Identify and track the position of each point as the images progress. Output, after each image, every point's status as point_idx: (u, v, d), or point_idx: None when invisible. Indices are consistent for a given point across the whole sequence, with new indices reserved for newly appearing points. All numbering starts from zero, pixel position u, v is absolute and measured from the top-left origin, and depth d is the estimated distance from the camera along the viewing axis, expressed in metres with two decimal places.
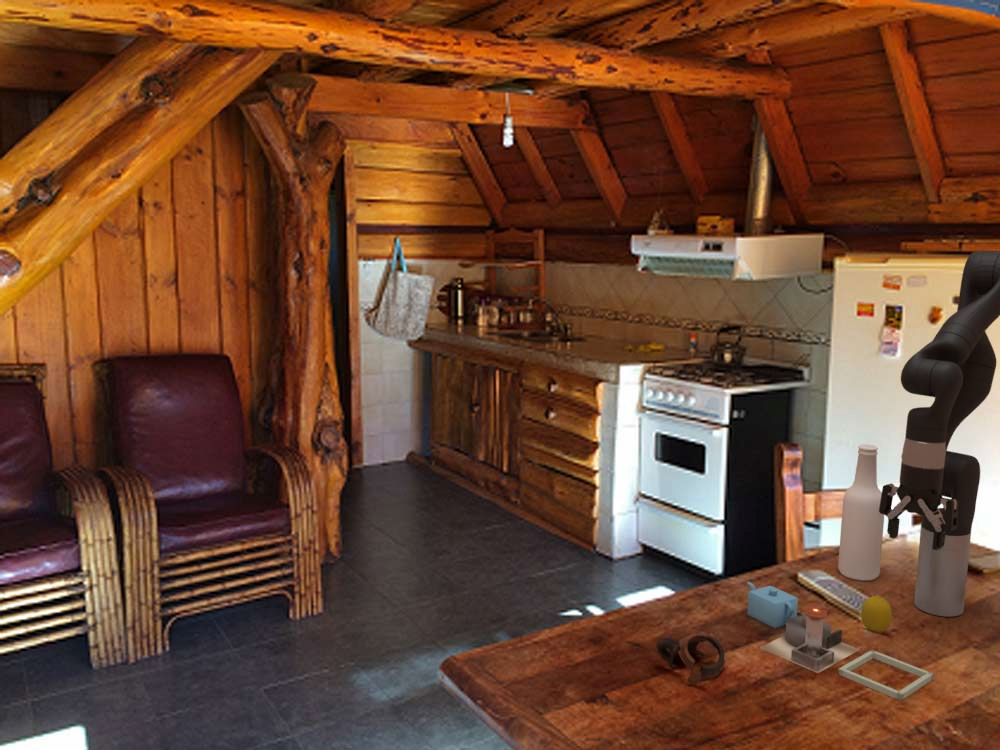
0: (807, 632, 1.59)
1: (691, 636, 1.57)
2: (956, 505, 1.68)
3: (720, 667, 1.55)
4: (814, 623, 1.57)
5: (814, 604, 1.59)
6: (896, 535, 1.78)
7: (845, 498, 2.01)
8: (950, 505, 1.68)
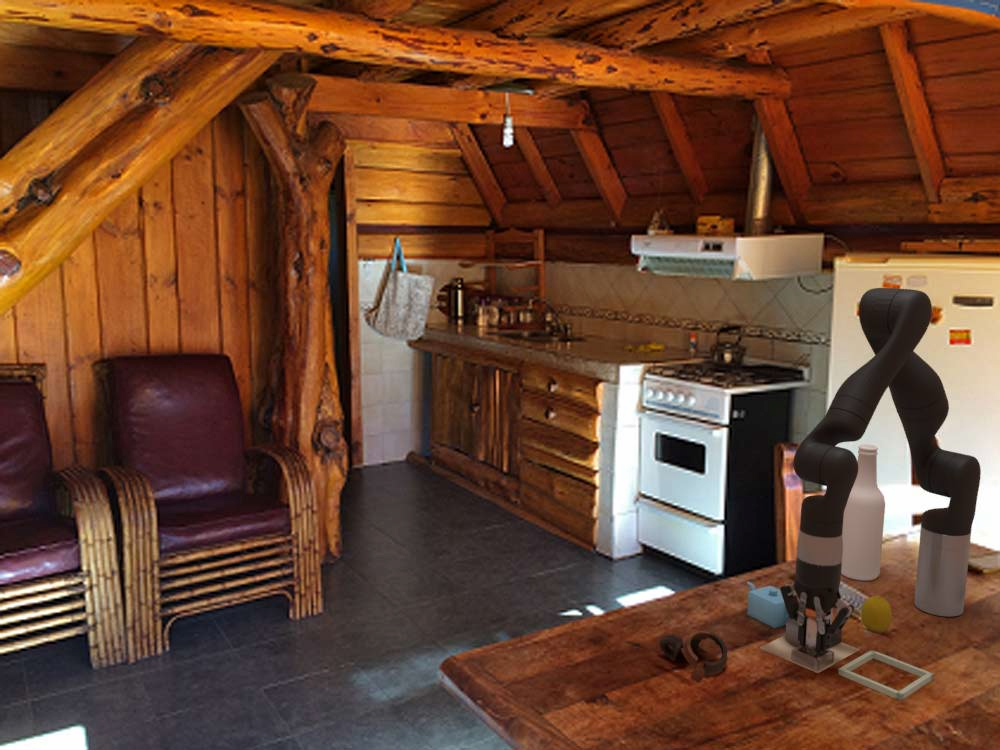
0: (807, 632, 1.59)
1: (694, 633, 1.58)
2: (850, 613, 1.54)
3: (723, 664, 1.56)
4: (814, 623, 1.57)
5: None
6: None
7: None
8: (843, 614, 1.53)
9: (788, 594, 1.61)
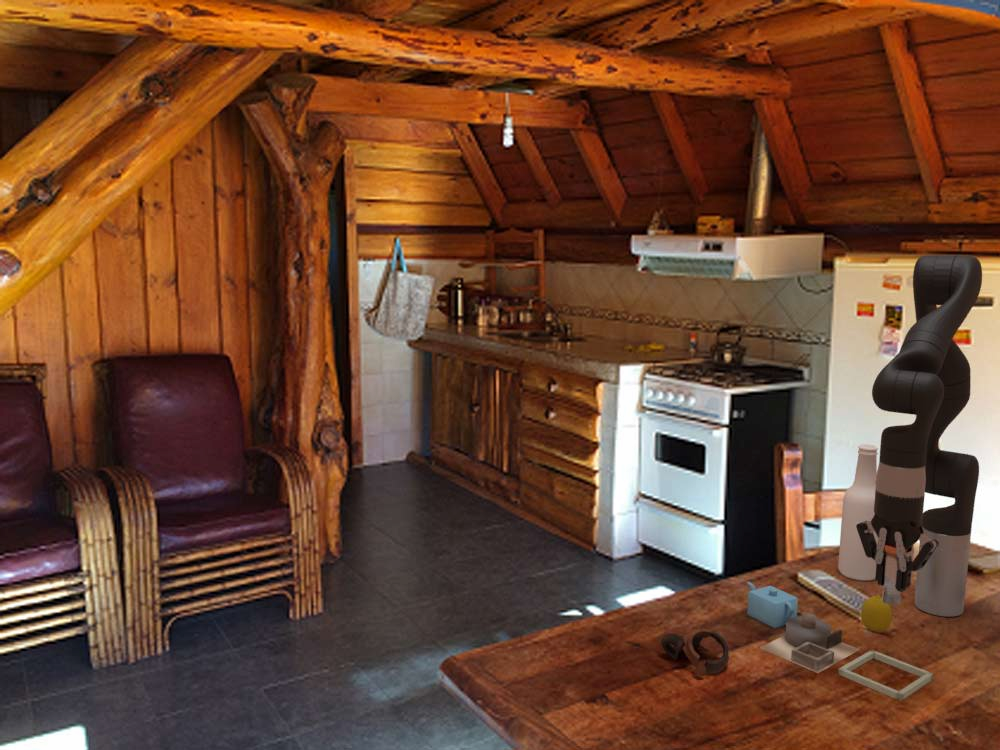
0: (886, 571, 1.51)
1: (695, 632, 1.59)
2: (934, 548, 1.46)
3: (724, 662, 1.56)
4: (894, 560, 1.50)
5: None
6: None
7: (845, 498, 2.01)
8: (928, 548, 1.45)
9: (865, 531, 1.53)
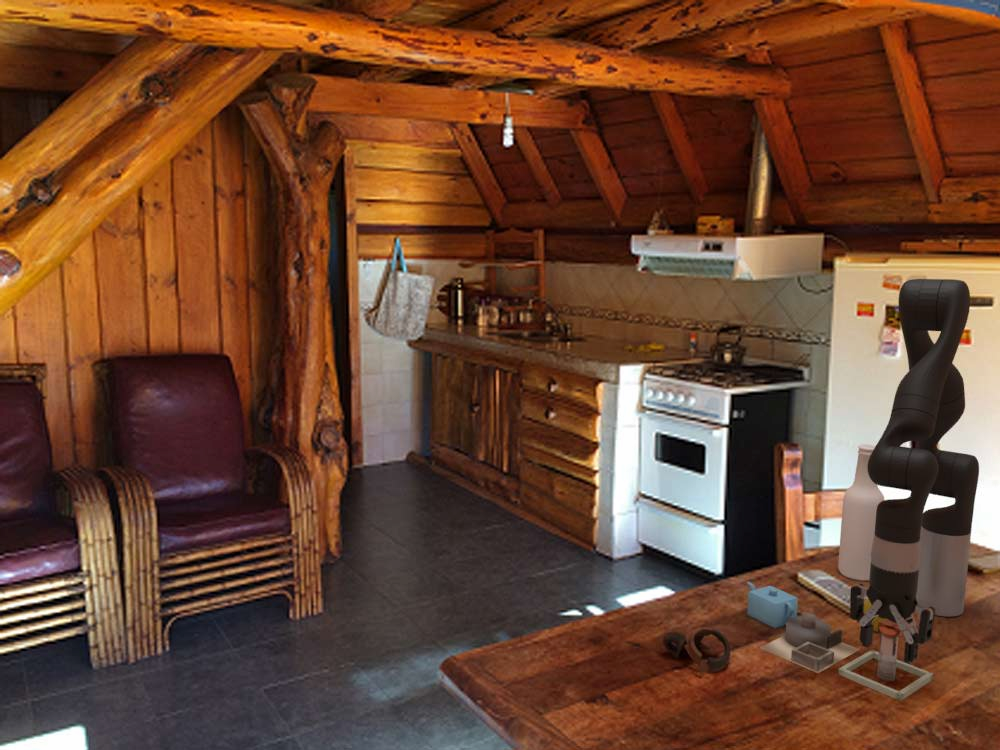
0: (881, 651, 1.53)
1: (697, 630, 1.60)
2: (932, 616, 1.47)
3: (726, 660, 1.57)
4: (889, 641, 1.52)
5: (888, 622, 1.54)
6: (870, 643, 1.57)
7: (845, 498, 2.01)
8: (925, 616, 1.47)
9: (858, 596, 1.56)
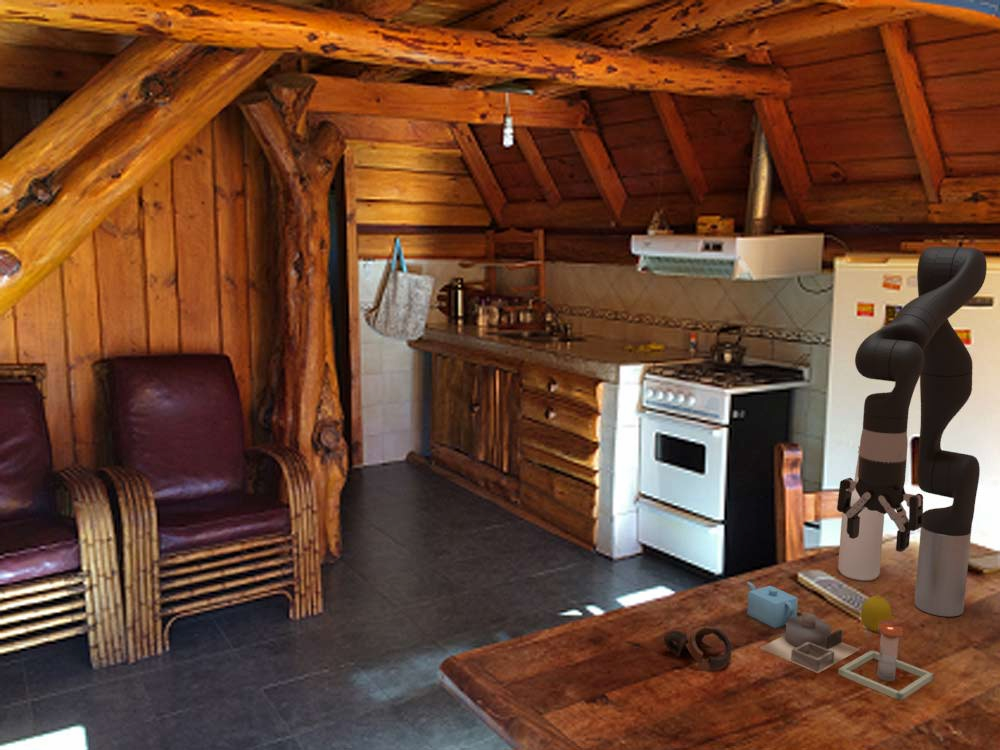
0: (881, 651, 1.53)
1: (698, 629, 1.60)
2: (921, 501, 1.50)
3: (727, 659, 1.58)
4: (889, 641, 1.52)
5: (888, 622, 1.54)
6: (857, 535, 1.60)
7: None
8: (914, 502, 1.49)
9: (846, 490, 1.59)
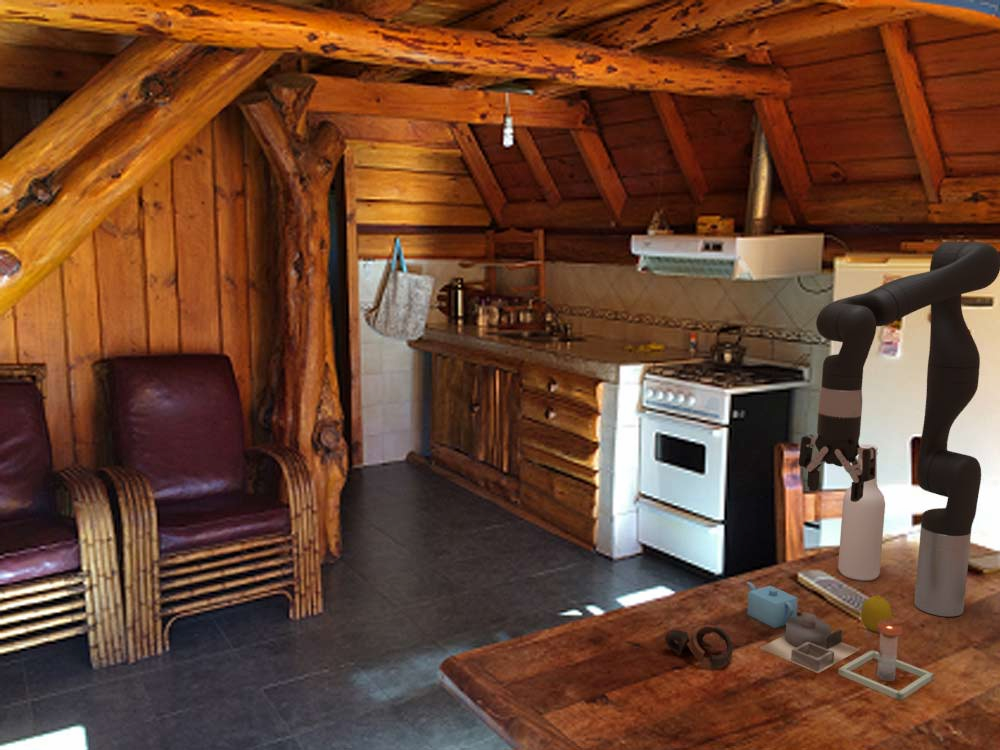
0: (881, 651, 1.53)
1: (699, 628, 1.61)
2: (873, 454, 1.62)
3: (728, 657, 1.58)
4: (889, 641, 1.52)
5: (887, 621, 1.54)
6: (816, 488, 1.72)
7: (845, 498, 2.01)
8: (866, 454, 1.61)
9: (807, 445, 1.71)
